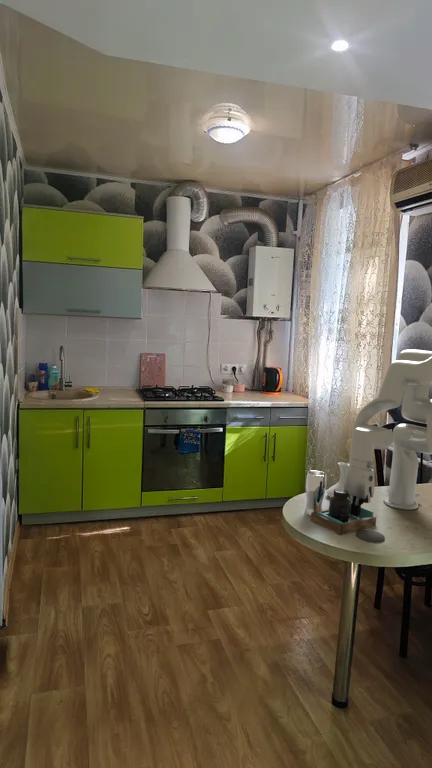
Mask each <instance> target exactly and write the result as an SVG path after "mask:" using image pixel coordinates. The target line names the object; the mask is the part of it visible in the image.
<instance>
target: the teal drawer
mask: <svg viewBox="0 0 432 768" xmlns="http://www.w3.org/2000/svg"><path fill="white" fill-rule="evenodd" d="M350 510H351V503H350ZM350 512H351V511H350ZM350 512H349V516H352V517H354V518H356V519H355V520H350V521H348V522H346V523H349V522H353V521H357V520H361V519H365V518H369V517H373V516H374V511H373V510H371V509H368V508H365V507H363V506H361V510H360V515H358V516H353V515H350ZM328 513H329V512H326V513H321V512H319V511H318V512H317V514H319V515H321V516H323V517H325V518H327V519H330V520H332V521H334V522H336V523H339V524H345V523H343V522H341V521H339V520H337V519H335V518H332V517H330V516H328Z"/></svg>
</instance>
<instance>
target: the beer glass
mask: <svg viewBox="0 0 432 768" xmlns="http://www.w3.org/2000/svg"><path fill="white" fill-rule="evenodd" d="M305 480H306V482H305V494H306V506H305V510H304V514H305V515H306V516H309V517H311V513H312V512H316V511H321V510H323V508H322V507H323V506H322V505H323V500H324V497H325V495H326V494H325V493H326V491H327V490H326V489H327V473H326V472H324V471H321V470H315V469H313V470H308V471H307V474H306V479H305Z"/></svg>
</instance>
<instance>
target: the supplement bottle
mask: <svg viewBox="0 0 432 768" xmlns="http://www.w3.org/2000/svg"><path fill="white" fill-rule="evenodd" d="M333 495H334V496H333V497H330V499H329V502H328V503H329V504H328V509H329V513H328V516H330V517H332V518H335V519H337V520H339V521H341V522H343V523H346V522H350V521H349V520H350V515H349V512H350V500H349V499H348V491H347V490H345V489H339V488H338V489H334V493H333Z"/></svg>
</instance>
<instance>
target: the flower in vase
mask: <svg viewBox="0 0 432 768" xmlns="http://www.w3.org/2000/svg"><path fill="white" fill-rule="evenodd" d="M351 444H352V437H350V438H349V439H347V441H346V442H345V449H346V451H347V454H348V455H350V453H351ZM338 457H339V458H340V459H342V460H343V461H346V462H343V461H342V462H337V465H338V468H339V480H338V482H336V484H334V485H332V486H330V487H329V488H328V489H327V490H326V494H327V496H329V497H330V498H331V497H333V496H334V495H333V493H334V489H338V488H339V489H343V485H344V478H345V473H346V470H347V467H348V465H349V462H350V457H349V458H348V459H347V458H345V457H342V456H341V455H340V454H339V455H338ZM348 499H349V498H348ZM349 500H350V499H349Z"/></svg>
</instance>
